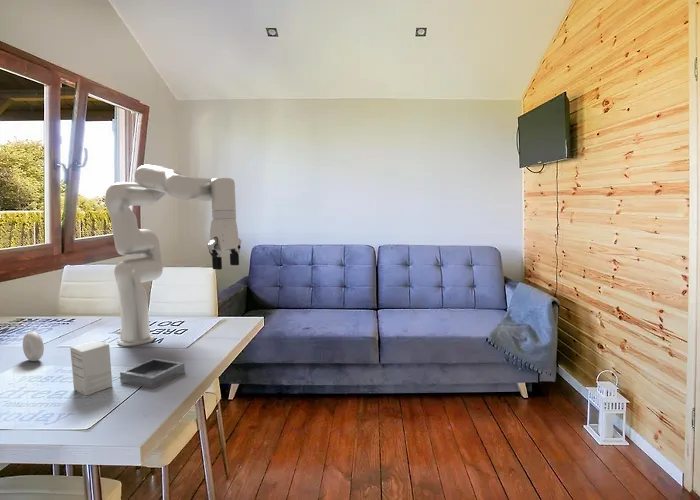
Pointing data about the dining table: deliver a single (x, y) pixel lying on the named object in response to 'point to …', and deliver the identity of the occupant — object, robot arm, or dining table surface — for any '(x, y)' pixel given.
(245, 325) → the dining table surface
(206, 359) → the dining table surface
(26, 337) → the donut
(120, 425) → the dining table surface
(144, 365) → the locating frame
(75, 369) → the supplement box
